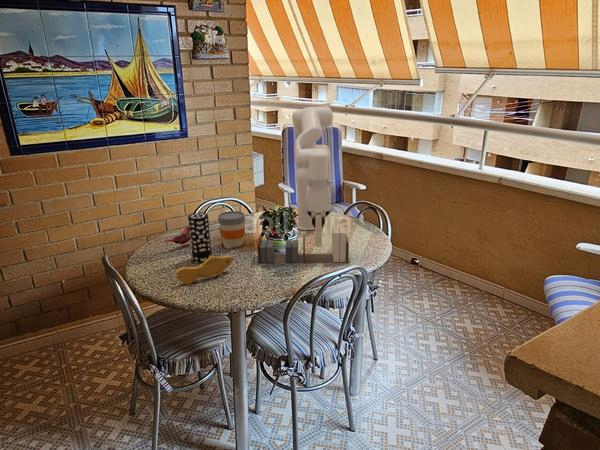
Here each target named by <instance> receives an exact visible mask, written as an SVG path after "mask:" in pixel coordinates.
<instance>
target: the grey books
mask: <svg viewBox="0 0 600 450" xmlns="http://www.w3.org/2000/svg"><path fill="white" fill-rule="evenodd" d="M284 251H285V252H284V254H285V255H286V263H291V262H292V263H294V262H298V254H299V239H286V240H285V246H284ZM274 254H275V240H274V239H269V240H267V239H265V240H264V239H263V240H262V239H261V245H260V258H261V263H273V260H274Z"/></svg>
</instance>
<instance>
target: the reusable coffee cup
mask: <svg viewBox="0 0 600 450" xmlns="http://www.w3.org/2000/svg"><path fill="white" fill-rule="evenodd" d="M217 223H218V225H219V227H218V229H219V234H220V237H221V238H222V242H223V243H222V244H223V247H224V248H225V249H228V250H232V248H237V247H241V246H242V245H243V244H244V238H245V235H246V234H245V233H246V225H245V223H246V216H245V213H244V212H242V211H239V210H238V211H237V210H231V211H225V212H220V213H219V214H218V216H217Z"/></svg>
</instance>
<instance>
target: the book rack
mask: <svg viewBox="0 0 600 450" xmlns="http://www.w3.org/2000/svg"><path fill="white" fill-rule="evenodd" d="M261 242H262V235H261V234H259V236H258V240H257V242H256V249H257V265H288V264H289V265H291V264H293V265H297V264H299V265H300V264H301V265H303V264H305V265H306V264H311V265H312V264H314V265H315V264H321V265H322V264H325V265H327V264H350V262H349V253H350V252H349V251H350V242H349V239H348V234H347V233H346V262H340V261H339V262H333V257H332V253H306V235H305V234H303V236H302V253H298V262H294V263H292V262H291V263H286V255H285V253H274V260H273V263H261V258H260V245H261Z"/></svg>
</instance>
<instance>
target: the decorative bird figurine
mask: <svg viewBox="0 0 600 450" xmlns="http://www.w3.org/2000/svg"><path fill="white" fill-rule="evenodd" d="M189 241H191V240H190V231H189V224H188V225H187V226H186V227H185V229H184V230H183V231H181V232H179V233H178V234H177V235H175V236H174V237H173V238H171V239H164V242H171V243H174V244H176V245H181V248H184V247H187V246H188V245H189V243H188V242H189ZM182 244H185V245H182Z"/></svg>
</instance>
